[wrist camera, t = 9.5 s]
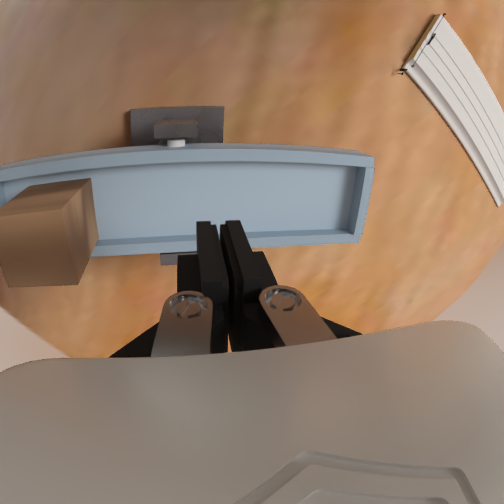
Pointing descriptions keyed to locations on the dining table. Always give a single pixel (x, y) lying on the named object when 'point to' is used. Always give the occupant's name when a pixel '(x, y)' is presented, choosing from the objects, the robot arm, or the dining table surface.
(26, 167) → the beam
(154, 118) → the stand
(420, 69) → the baseboard molding
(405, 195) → the dining table surface
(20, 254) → the rider
